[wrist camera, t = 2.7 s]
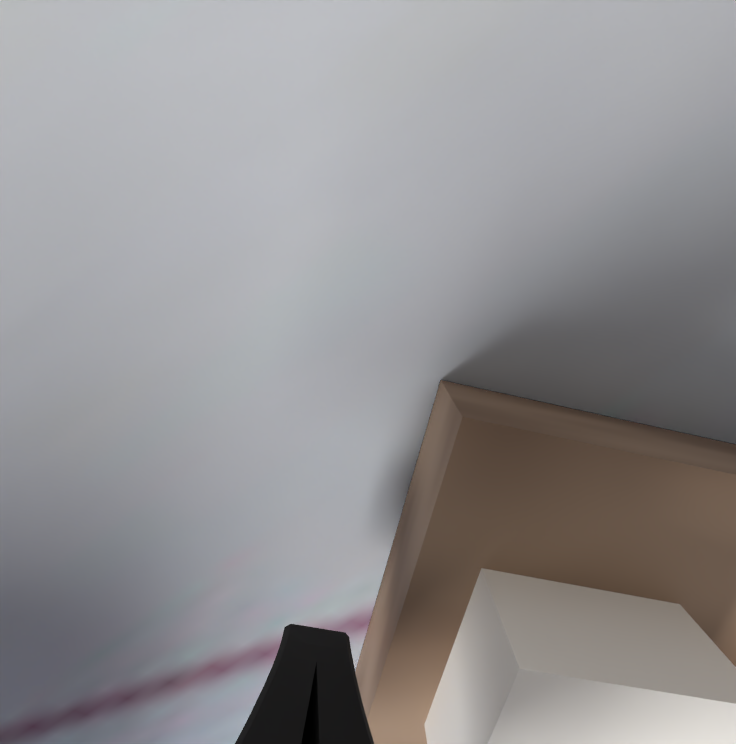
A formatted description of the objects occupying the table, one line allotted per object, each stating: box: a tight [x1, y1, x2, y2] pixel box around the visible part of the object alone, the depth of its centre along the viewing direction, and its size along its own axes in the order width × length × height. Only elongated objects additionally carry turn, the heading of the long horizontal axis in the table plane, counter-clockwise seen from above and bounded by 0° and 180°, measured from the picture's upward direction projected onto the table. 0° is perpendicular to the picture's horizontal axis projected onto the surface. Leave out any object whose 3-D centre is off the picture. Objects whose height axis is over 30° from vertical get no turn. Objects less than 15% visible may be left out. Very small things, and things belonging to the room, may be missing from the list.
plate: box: [355, 380, 736, 744], centre depth 13 cm, size 12×16×2 cm
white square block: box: [424, 568, 736, 744], centre depth 10 cm, size 5×5×2 cm
